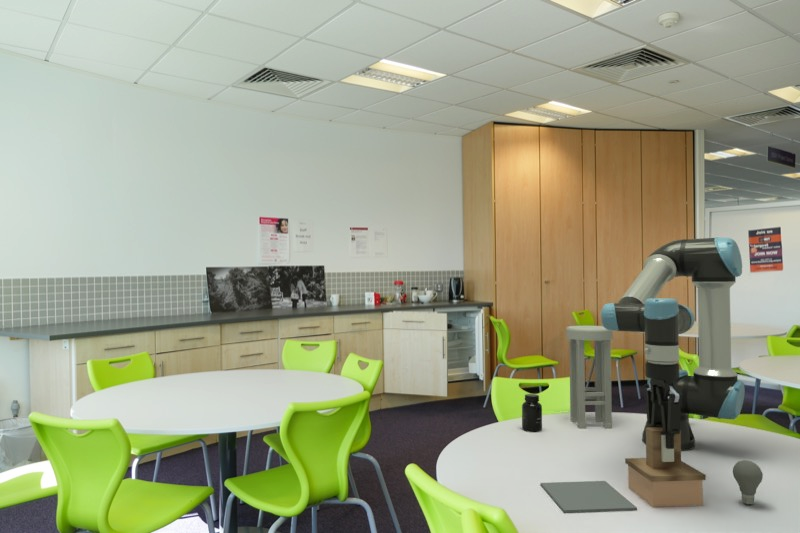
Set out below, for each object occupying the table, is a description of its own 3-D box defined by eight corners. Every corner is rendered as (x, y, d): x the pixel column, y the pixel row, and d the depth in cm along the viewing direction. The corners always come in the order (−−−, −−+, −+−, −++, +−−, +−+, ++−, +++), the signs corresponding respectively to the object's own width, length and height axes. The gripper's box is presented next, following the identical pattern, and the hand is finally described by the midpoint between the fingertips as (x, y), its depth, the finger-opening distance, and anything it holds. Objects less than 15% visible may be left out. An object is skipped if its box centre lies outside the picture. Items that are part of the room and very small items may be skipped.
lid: (674, 461, 143) (674, 421, 144) (705, 479, 130) (704, 435, 131) (625, 463, 143) (624, 422, 143) (651, 481, 130) (650, 437, 130)
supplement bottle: (542, 432, 192) (542, 397, 192) (522, 431, 194) (521, 396, 194) (541, 427, 199) (541, 393, 199) (521, 426, 200) (521, 392, 201)
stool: (563, 418, 211) (562, 325, 211) (605, 418, 210) (603, 325, 211) (574, 430, 195) (573, 329, 196) (619, 430, 195) (618, 329, 195)
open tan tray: (674, 486, 143) (673, 462, 143) (702, 505, 131) (702, 479, 131) (628, 487, 142) (628, 463, 142) (652, 507, 130) (652, 480, 130)
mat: (605, 483, 145) (605, 480, 145) (637, 510, 128) (637, 507, 128) (540, 485, 144) (540, 482, 144) (564, 512, 127) (564, 510, 127)
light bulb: (727, 499, 134) (726, 457, 134) (751, 498, 135) (750, 456, 135) (744, 509, 128) (744, 465, 128) (769, 508, 129) (768, 464, 129)
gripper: (631, 357, 145) (632, 448, 144) (664, 367, 129) (666, 470, 128) (659, 356, 145) (660, 448, 145) (696, 366, 129) (698, 469, 129)
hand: (663, 458), depth 137 cm, fingers closed on lid, 3 cm apart
